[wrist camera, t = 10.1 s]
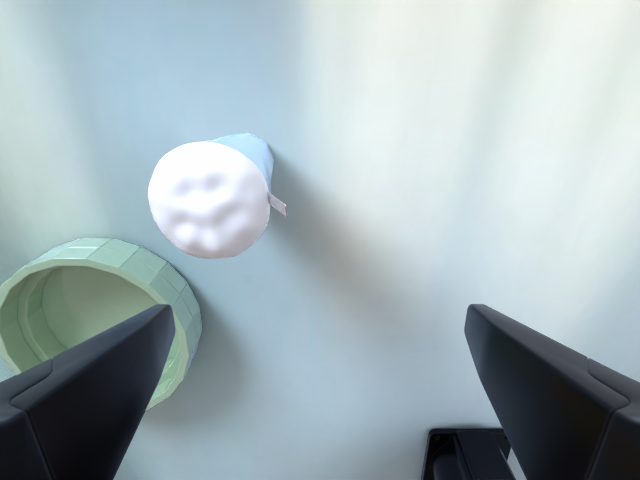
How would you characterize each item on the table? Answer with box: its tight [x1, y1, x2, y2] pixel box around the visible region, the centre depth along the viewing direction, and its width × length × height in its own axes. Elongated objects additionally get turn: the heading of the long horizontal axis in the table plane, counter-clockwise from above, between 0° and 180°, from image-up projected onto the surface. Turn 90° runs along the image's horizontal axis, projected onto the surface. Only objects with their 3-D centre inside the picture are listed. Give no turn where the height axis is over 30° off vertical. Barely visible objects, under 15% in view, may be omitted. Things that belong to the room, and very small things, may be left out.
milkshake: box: [148, 133, 288, 259], centre depth 17 cm, size 5×5×10 cm
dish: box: [0, 238, 202, 410], centre depth 24 cm, size 11×11×3 cm
